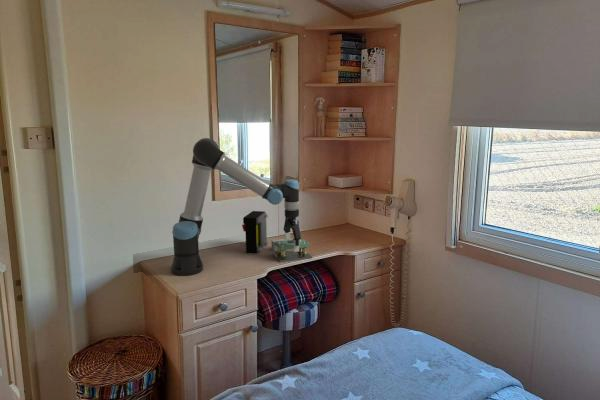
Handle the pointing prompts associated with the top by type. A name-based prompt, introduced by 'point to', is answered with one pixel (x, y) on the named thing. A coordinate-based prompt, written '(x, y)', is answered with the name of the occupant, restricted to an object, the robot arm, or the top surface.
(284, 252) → the chassis
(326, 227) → the top surface
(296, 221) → the robot arm
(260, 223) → the electrical component
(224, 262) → the top surface
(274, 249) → the foam block
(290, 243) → the board
